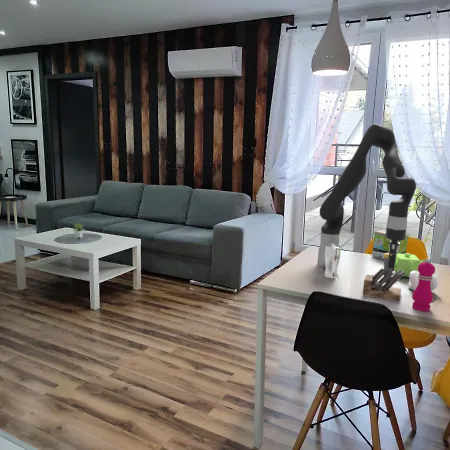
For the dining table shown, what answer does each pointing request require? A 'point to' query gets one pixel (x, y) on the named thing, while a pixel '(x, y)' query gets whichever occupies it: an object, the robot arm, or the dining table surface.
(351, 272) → the dining table surface
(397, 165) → the robot arm
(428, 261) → the pepper mill
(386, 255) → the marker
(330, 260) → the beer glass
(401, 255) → the kettle
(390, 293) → the knife block
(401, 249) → the tea box
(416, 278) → the white knot
